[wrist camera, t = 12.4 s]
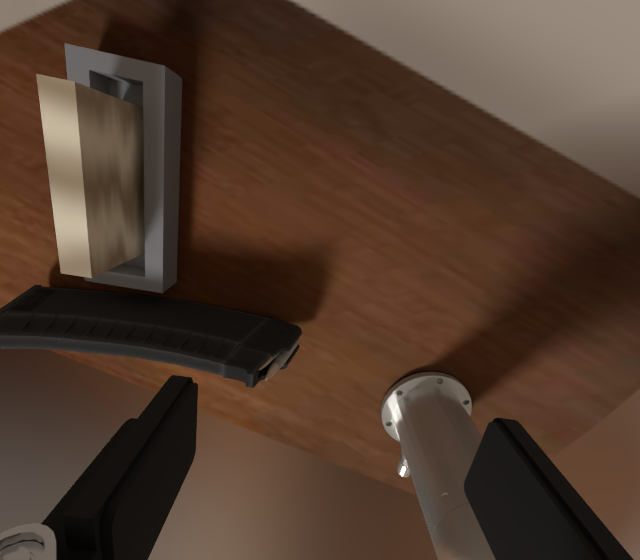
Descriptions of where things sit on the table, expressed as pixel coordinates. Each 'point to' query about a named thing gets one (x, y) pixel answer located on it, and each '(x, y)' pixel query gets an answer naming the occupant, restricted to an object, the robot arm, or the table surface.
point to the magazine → (150, 331)
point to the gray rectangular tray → (159, 157)
